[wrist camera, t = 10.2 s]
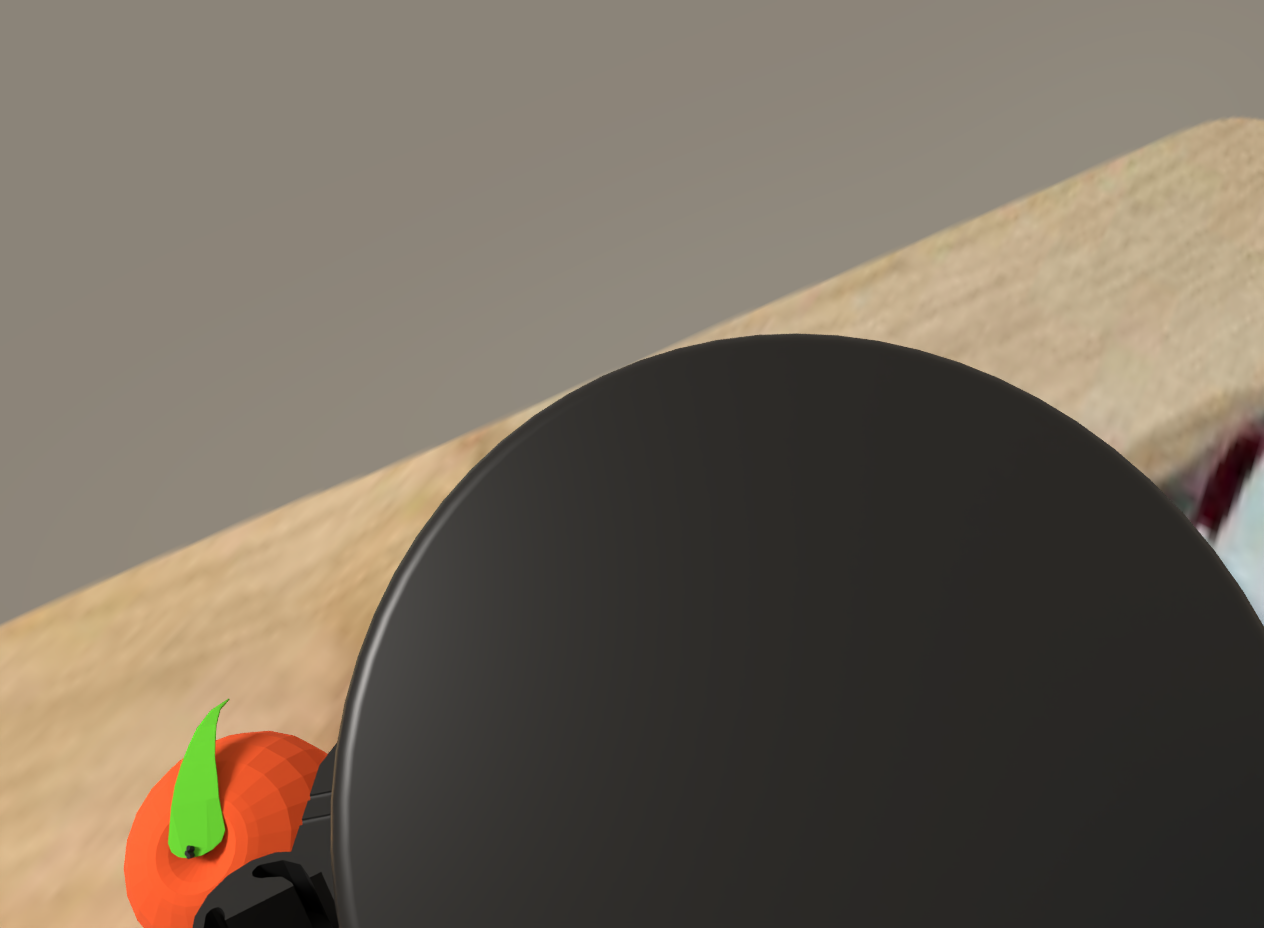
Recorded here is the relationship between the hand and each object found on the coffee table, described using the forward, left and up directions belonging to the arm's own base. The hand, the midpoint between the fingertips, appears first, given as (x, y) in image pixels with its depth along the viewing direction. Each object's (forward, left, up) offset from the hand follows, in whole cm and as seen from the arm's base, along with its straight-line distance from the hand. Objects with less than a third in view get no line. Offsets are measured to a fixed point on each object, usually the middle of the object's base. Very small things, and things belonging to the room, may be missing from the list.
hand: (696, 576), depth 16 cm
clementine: (+14, +7, -18) cm, 24 cm away
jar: (-1, +3, -4) cm, 6 cm away
